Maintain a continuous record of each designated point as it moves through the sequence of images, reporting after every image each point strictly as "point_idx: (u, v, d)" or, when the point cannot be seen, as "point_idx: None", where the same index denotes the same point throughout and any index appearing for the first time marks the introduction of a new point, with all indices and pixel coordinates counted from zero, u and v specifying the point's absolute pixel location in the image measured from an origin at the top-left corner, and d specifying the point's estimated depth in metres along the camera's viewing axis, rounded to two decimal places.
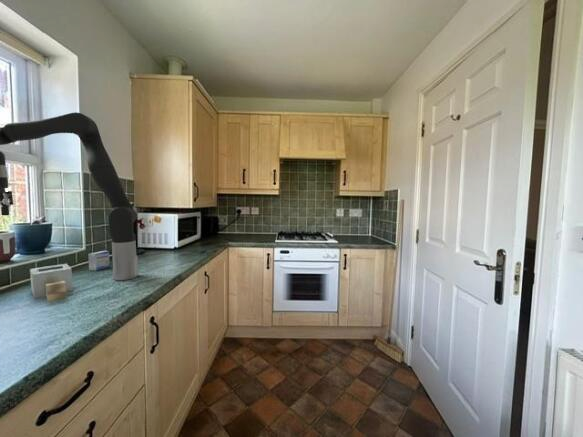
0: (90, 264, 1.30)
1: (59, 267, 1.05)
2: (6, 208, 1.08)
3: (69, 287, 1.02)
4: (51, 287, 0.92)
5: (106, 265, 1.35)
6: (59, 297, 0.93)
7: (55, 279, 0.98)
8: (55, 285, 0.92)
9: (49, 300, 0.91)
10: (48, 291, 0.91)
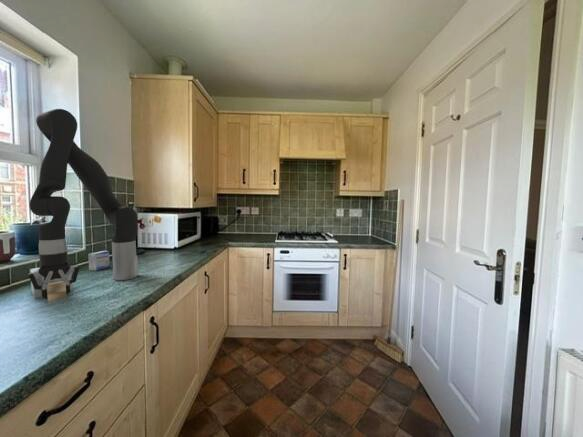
0: (90, 264, 1.30)
1: None
2: None
3: None
4: (51, 287, 0.92)
5: (106, 265, 1.35)
6: (59, 297, 0.93)
7: (55, 279, 0.98)
8: (55, 285, 0.92)
9: (49, 300, 0.91)
10: (48, 291, 0.91)
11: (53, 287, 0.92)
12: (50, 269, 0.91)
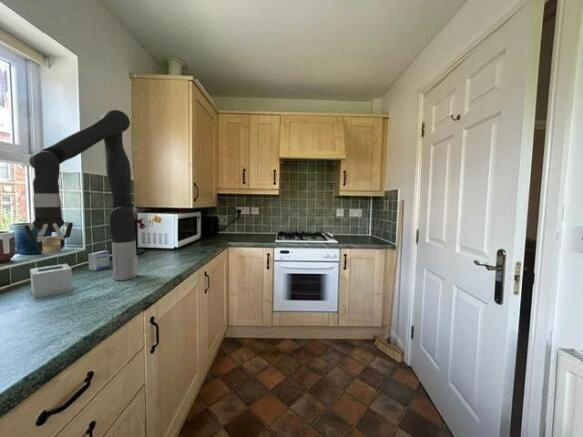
0: (90, 264, 1.30)
1: (59, 267, 1.05)
2: None
3: (69, 287, 1.02)
4: (46, 240, 0.95)
5: (106, 265, 1.35)
6: (54, 250, 0.97)
7: (55, 279, 0.98)
8: (50, 238, 0.96)
9: (44, 252, 0.95)
10: (43, 243, 0.95)
11: (48, 240, 0.96)
12: (45, 222, 0.95)
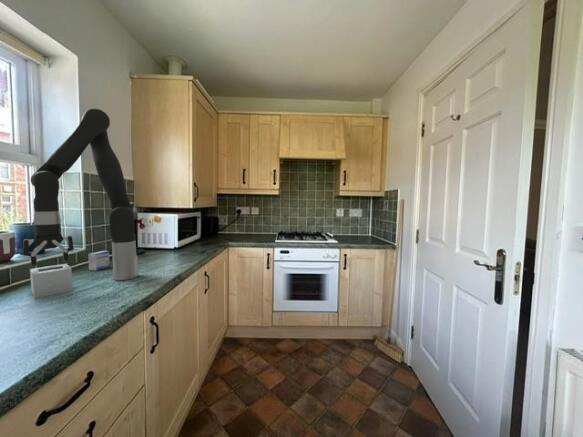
0: (90, 264, 1.30)
1: (59, 267, 1.05)
2: (35, 257, 0.98)
3: (69, 287, 1.02)
4: None
5: (106, 265, 1.35)
6: None
7: (55, 279, 0.98)
8: None
9: None
10: None
11: None
12: (44, 239, 0.98)
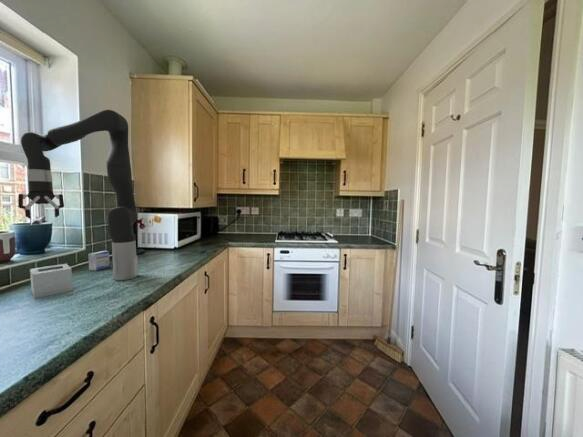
0: (90, 264, 1.30)
1: (59, 267, 1.05)
2: (29, 211, 1.09)
3: (69, 287, 1.02)
4: None
5: (106, 265, 1.35)
6: None
7: (55, 279, 0.98)
8: None
9: None
10: None
11: None
12: (37, 195, 1.10)
